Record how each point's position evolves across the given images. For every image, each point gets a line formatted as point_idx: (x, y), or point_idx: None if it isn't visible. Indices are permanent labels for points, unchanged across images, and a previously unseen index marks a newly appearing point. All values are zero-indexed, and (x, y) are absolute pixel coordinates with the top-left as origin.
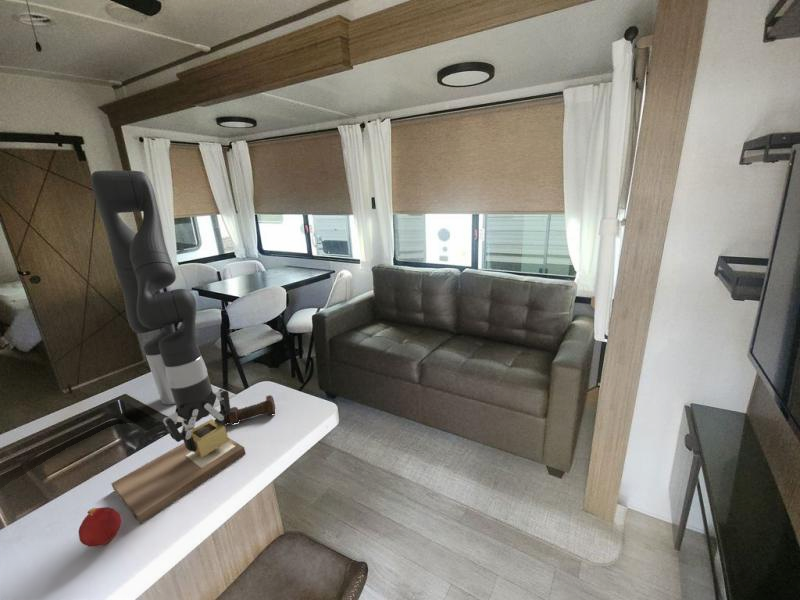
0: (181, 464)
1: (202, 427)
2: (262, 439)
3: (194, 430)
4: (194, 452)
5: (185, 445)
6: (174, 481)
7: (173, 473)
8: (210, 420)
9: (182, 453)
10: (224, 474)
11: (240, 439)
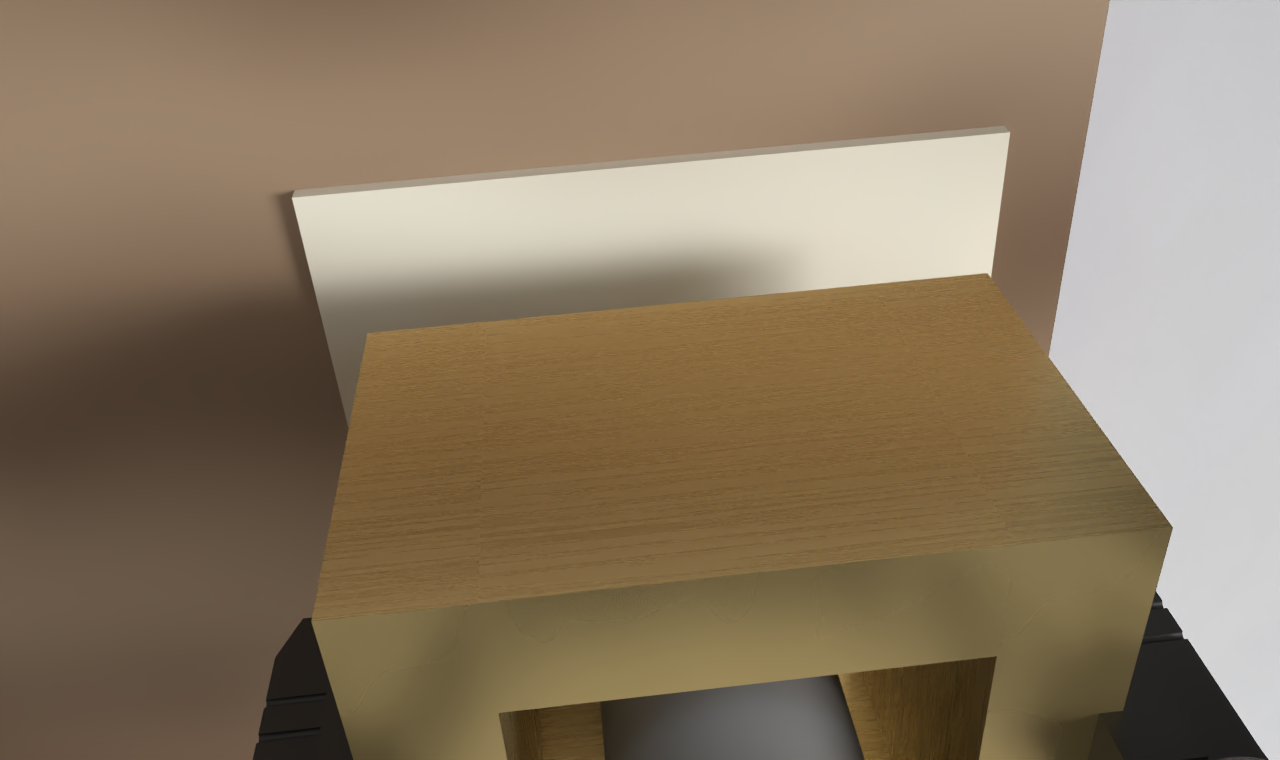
0: (177, 377)
1: (792, 659)
2: (1258, 525)
3: (582, 682)
4: (452, 259)
5: (265, 722)
6: (33, 655)
7: (28, 491)
8: (1102, 572)
9: (252, 31)
10: None
11: (1157, 267)
